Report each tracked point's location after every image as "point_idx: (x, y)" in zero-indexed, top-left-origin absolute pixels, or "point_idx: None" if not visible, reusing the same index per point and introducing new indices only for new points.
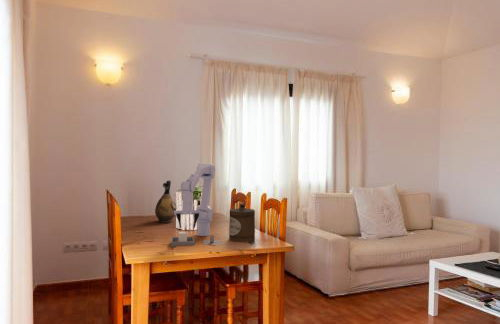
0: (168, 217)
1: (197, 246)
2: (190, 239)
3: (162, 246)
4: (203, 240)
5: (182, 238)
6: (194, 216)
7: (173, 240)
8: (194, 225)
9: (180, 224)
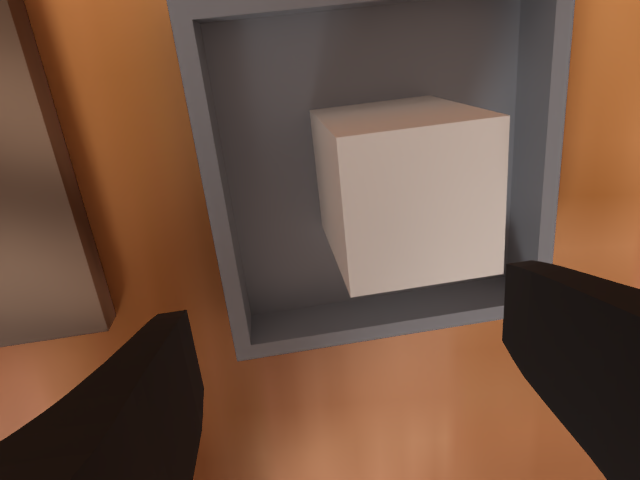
0: None
1: (138, 55)
2: (275, 322)
3: (633, 64)
4: (81, 310)
5: (399, 111)
6: None
7: (499, 283)
8: (157, 330)
9: (576, 284)
